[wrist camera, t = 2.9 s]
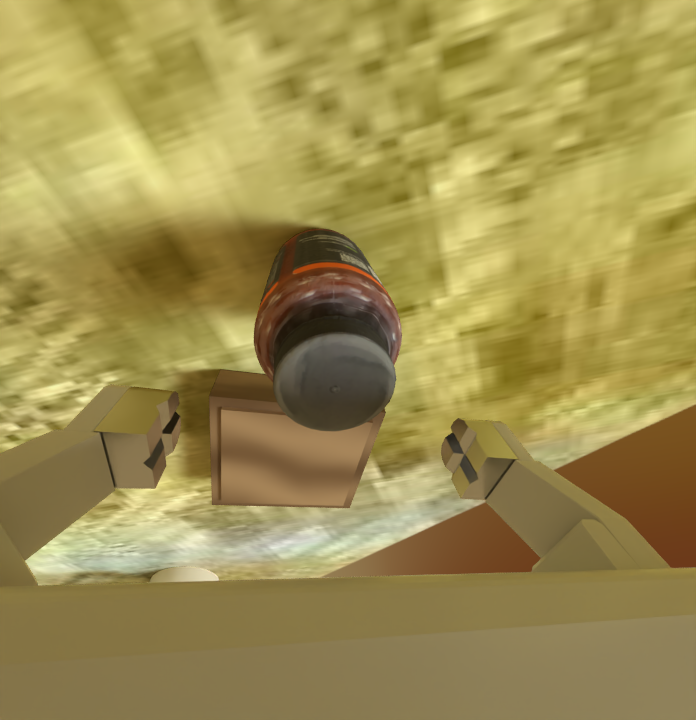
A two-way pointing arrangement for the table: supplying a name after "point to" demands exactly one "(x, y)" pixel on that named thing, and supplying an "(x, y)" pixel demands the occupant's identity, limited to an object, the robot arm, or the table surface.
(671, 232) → the table surface
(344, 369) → the supplement bottle
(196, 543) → the table surface
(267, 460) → the brown box
